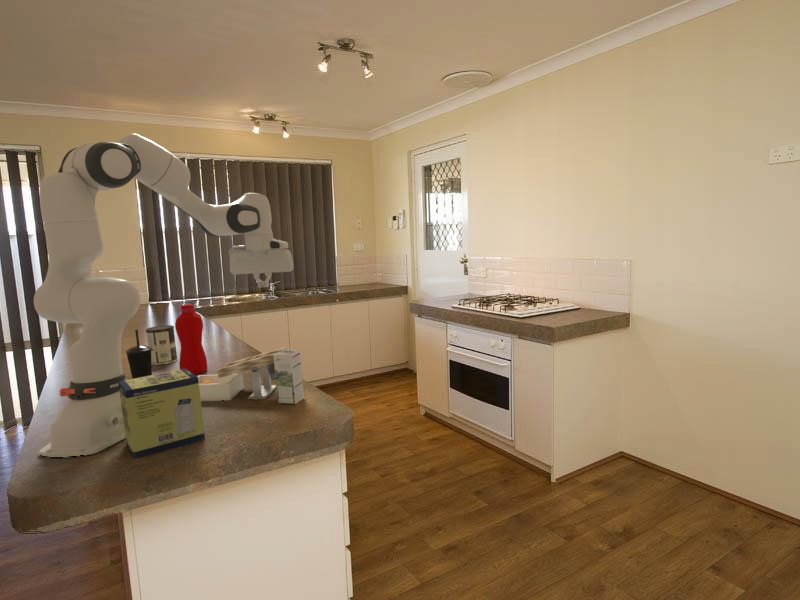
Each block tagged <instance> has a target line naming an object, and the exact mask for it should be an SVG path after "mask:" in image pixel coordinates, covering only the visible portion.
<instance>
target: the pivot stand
mask: <svg viewBox="0 0 800 600" xmlns="http://www.w3.org/2000/svg"><path fill="white" fill-rule="evenodd" d="M261 370H262V380H263V381H261V371H260V367H255V366H254V367H252V369H250V371H251V379H252V390H253V392H252V393H251V394H250V395H249V396H248V400H249V399H254V400H266V399H268V397H269V396H270V395H271V394H272V393H273V392H274V391H275V390H277V388H276V384H272V381H271V378H270V375H269V372H268V369H267V366H266V365H264V366H261ZM262 382H263V385H262Z"/></svg>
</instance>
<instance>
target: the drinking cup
mask: <svg viewBox="0 0 800 600" xmlns="http://www.w3.org/2000/svg"><path fill="white" fill-rule="evenodd" d="M134 331H135V339H136V345H133V346H131V347H130V348H128V349H126V350H125V354H126V356H127V361H128V364H129V369H130V374H131V379H135V378H140V377H145V376H150V375H153V373H152V370H153V369H152V366H153V365H152V362H151V350H152V347H149V346H148V345H145V344H140V339H139V338H140V337H139V332H138V331H139V330H138V329H135V330H134Z"/></svg>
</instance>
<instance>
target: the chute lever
mask: <svg viewBox="0 0 800 600" xmlns="http://www.w3.org/2000/svg"><path fill="white" fill-rule="evenodd" d="M282 350H288V349H287V347H285V346H284V347H282V348H278V349H275V350H271V351H268V352H264V353H260V354H257V355H253V356H250V357H246V358H243V359H238V360H235V361H232V362H228V363H225V364H224V367H221V368H217V369H216V370H215V371H216V374H218V377H219V378H221V377H225V376H228V375H232V374H240V373H242V372H246V371H251V369H252V367H254V366H255V367H257V368H260V367H261V368H262V366H264V365H266V366H267V369H268V372H269V375H270V378H271V382H273V381H276V377H275V367H274V354H275V353H277V352H279V351H282Z"/></svg>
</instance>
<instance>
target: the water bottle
mask: <svg viewBox="0 0 800 600" xmlns="http://www.w3.org/2000/svg"><path fill="white" fill-rule="evenodd" d="M179 309H180V312H181V313H180V314H179V315H178V316H177V317H176V320H175V323H174V324H175V325H174V329H175V332H176V334H177V338H178V341H179V343H180V354H179V363H178V364H179V370H181V369H188V370H189V371H190V372H191V373H193V374H194V375H200V374H203V373H206V371H208V361H207V355H206V353H205V348H204V347H203V344H202V343H203V336H204V338H205V339H207V337H206V336H205V335H203V332H204V329H205V328H204V322H203V320H204V319H203V317H202V316H201V314H199V313H198V312H197V310H196V309H195V306H194V304H190V303H187V304H182V305H180V307H179ZM205 325H206V326H208V325H207V323H205ZM207 331H208V332H210V331H209V329H207Z"/></svg>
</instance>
